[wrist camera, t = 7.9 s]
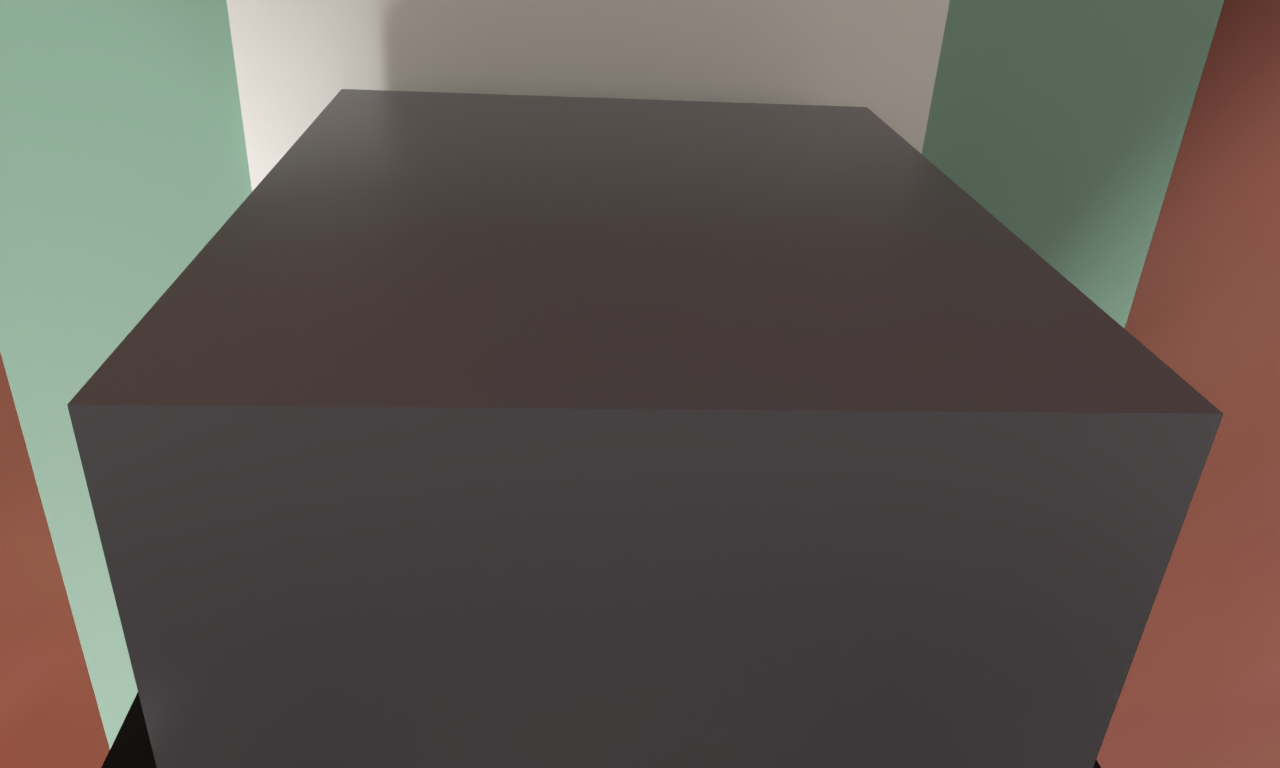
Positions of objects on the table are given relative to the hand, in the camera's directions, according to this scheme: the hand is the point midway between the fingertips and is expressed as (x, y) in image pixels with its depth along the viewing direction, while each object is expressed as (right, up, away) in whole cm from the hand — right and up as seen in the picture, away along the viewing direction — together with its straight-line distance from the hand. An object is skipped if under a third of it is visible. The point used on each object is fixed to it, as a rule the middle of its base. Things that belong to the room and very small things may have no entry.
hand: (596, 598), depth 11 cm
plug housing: (0, +1, +1) cm, 1 cm away
